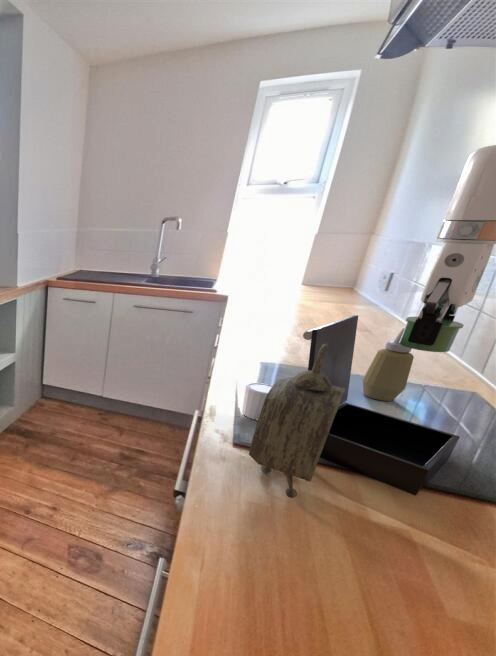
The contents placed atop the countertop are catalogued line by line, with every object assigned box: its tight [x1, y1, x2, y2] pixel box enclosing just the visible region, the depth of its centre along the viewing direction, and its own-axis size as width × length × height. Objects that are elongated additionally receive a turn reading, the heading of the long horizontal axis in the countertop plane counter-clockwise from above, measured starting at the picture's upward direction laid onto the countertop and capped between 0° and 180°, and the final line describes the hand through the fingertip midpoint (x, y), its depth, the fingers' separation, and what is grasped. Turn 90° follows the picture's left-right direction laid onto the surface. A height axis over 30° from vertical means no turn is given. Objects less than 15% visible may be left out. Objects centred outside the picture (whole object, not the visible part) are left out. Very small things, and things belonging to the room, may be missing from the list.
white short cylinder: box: [241, 382, 273, 420], centre depth 95 cm, size 7×7×7 cm
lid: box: [302, 314, 359, 405], centre depth 84 cm, size 18×20×5 cm
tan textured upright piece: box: [248, 344, 345, 499], centre depth 70 cm, size 14×9×25 cm, turn 136°
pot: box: [399, 316, 465, 353], centre depth 72 cm, size 7×7×5 cm
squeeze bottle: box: [362, 327, 415, 402], centre depth 102 cm, size 8×8×18 cm
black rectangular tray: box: [319, 401, 461, 496], centre depth 79 cm, size 18×20×6 cm
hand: (426, 338), depth 73 cm, fingers closed on pot, 7 cm apart
